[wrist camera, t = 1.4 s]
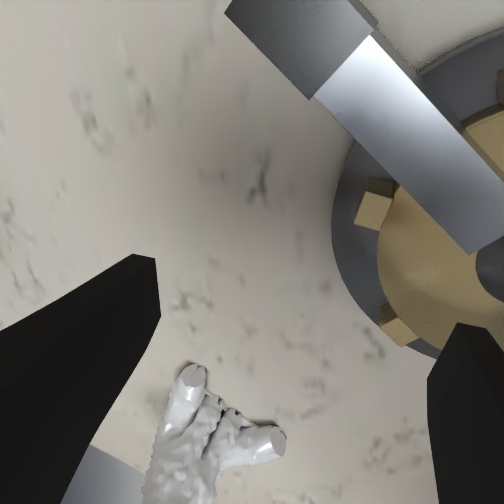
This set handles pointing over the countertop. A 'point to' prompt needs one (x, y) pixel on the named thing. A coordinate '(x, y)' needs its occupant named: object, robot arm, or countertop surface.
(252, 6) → the brass turntable dial
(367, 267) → the disc
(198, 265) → the countertop surface
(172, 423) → the seated beast figurine
